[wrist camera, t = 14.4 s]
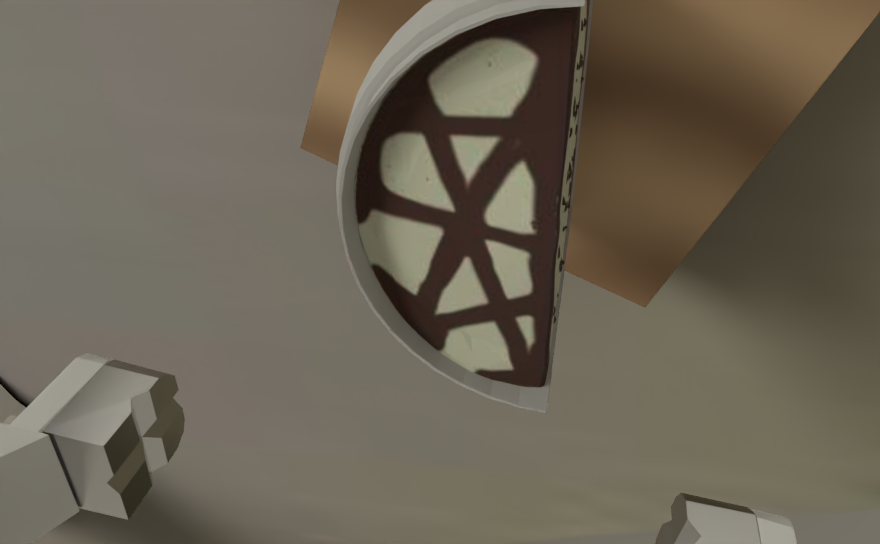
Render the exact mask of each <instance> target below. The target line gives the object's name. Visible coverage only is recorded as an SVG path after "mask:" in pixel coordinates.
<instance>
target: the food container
mask: <svg viewBox="0 0 880 544" xmlns="http://www.w3.org/2000/svg"><path fill="white" fill-rule="evenodd" d="M592 8H593V0H432V1H430V2H429V3H427V4H426V5H425V6H424V7H422V8H421V9H420V10H419V11H418V12H417V13H416V14H415V15H414V16H413V17H412V18H411V19H409V20H408V21H407V22H406V23H405V24H404V25H403V26H402V27H401V28H400V29H399V30H398V31H397V32H396V33H395V34H394V35H393V37H392V38H391V39H390V41H389V42H388V43H387V45H386V46H385V47H384V48H383V50H382V51H381V52H380V54H379V55H378V56H377V58H376V59H375V60H374V62H373V64H372V66H371V67H370V69H369V71H368V73H367V75H366V77H365V79H364V81H363V83H362V85H361V87H360V89H359V91H358V93H357V96H356V99H355V102H354V105H353V109H352V112H351V115H350V118H349V122H348V125H347V128H346V132H345V135H344V139H343V142H342V146H341V149H340V155H339V163H338V171H337V179H336V193H337V212H338V218H339V225H340V233H341V237H342V241H343V246H344V250H345V254H346V258H347V261H348V263H349V266H350V268H351V271H352V273H353V276H354V278H355V281H356V283H357V285H358V287H359V289H360V291H361V292H362V294H363V296H364V297H365V299H366V301H367V302H368V304H369V306H370V307H371V309H372V311H373V312H374V313H375V314H376V316H377V317H378V318H379V319H380V321H381V322H382V323H383V324H384V326H385V327H386V328H387V329H388V331H389V332H390V333H391V334H392V335H393V336H394V337H395V338H396V339H397V340H398V341H399V342H400V343H401V344H402V345H403V346H404V347H405V348H407V349H408V350H409V351H410V352H411V353H412V354H413V355H414V356H416V357H417V358H418V359H420V360H421V361H422V362H424V363H425V364H426V365H428V366H429V367H430V368H432V369H433V370H434V371H436V372H438V373H439V374H441V375H443V376H445V377H446V378H448V379H450V380H452V381H453V382H455V383H457V384H458V385H460V386H462V387H464V388H467V389H469V390H471V391H473V392H476V393H478V394H480V395H483V396H485V397H487V398H490V399H493V400H496V401H499V402H502V403H506V404H509V405H512V406H515V407H519V408H523V409H528V410H533V411H538V412H543V413H546V410H547V403H548V397H549V390H550V383H551V375H552V372H551V371H552V364H553V356H554V348H555V340H556V332H557V324H558V317H559V309H560V301H561V293H562V285H563V277H564V270H565V262H566V254H567V246H568V238H569V230H570V223H571V215H572V206H573V196H574V187H575V177H576V167H577V157H578V147H579V137H580V127H581V117H582V107H583V97H584V87H585V77H586V68H587V58H588V48H589V38H590V28H591V18H592Z"/></svg>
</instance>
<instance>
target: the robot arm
mask: <svg viewBox="0 0 880 544" xmlns="http://www.w3.org/2000/svg"><path fill="white" fill-rule="evenodd" d="M177 391H178V386H177V383H176V379H175V376H174V375H170V374H167V373H163V372H159V371H155V370H152V369H148V368H144V367H140V366H136V365H133V364H129V363H125V362H121V361H118V360H114V359H109V358H105V357H101V356H97V355H93V354H89V353H86V354H84V355H81V356H79V357H77V358H75V359H74V360H73V361H72V362H71V363H70V364H69V365H68V366H67V367H66V368H65V369H64V370H63V371H62V372H61V373H60V374H59V375H58V376H57V377H56V378H55V379H54V380H53V381H52V382H51V383H50V384H49V385H48V386H47V387H46V388H45V389H44V390H43V391H42V392H41V393H40V395H39V396H38V397H37V398H36V399H35V400H34V401H33V402H32V403H31V404H30V405H29V406H28V407H27V408H26V407H25V406H23V405H22V404H20V403H19V402H18V401H17V400H15V399H14V398H13V397H12V396H11V395H10V394H9V393H8V392H7V391H6V390H5V389H4V388H3V387H2V385H1V384H0V544H31V543H32V542H34V541H35V540H37V539H38V538H40V537H41V536H43V535H45V534H46V533H48V532H49V531H51V530H52V529H54V528H55V527H57V526H58V525H60V524H61V523H63V522H64V521H66V520H67V519H69V518H70V517H72V516H73V515H75V514H76V513H78V512H79V511H80V510H79V508H80V509H85V510H89V511H93V512H97V513H101V514H106V515H110V516H114V517H118V518H123V519H127V520H129V518H130V517H131V516H132V514H133V513H134V511H135V510H136V508H137V507H138V506H139V504H140V503H141V501H142V500H143V498H144V497H145V495H146V494H147V493H148V491H149V490H150V488H151V487H152V473H151V472H152V471H154V470H156V469H158V468H160V467H162V466H163V465H165V464H167V463H168V462H169V461H170V459H171V458H172V456H173V455H174V453H175V451H176V450H177V448H178V446H179V443H180V440H181V437H182V435H183V432H184V421H185V418H184V413H183V408H182V407H181V406H180V405H179V404H178V403H177V402H176V401H175V400H174V399H173V397H174V395H175V394H176V393H177ZM671 514H672V520H671V521H669V522H667V523H664V524H662V527H661V529H660V531H659V534H658V536H657V539H656V544H797V540H796V536H795V532H794V528H793V524H792V523H791V522H790V520H789V519H788V518H787V517H783V516H779V515H775V514H771V513H766V512H762V511H758V510H753V509H749V508H748V507H744V506H739V505H735V504H730V503H725V502H721V501H716V500H712V499H707V498H703V497H698V496H694V495H689V494H685V493H680V494H679V495H678V496H676V498H675V500H674V502H673V504H672V506H671Z"/></svg>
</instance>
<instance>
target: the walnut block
mask: <svg viewBox="0 0 880 544" xmlns="http://www.w3.org/2000/svg"><path fill="white" fill-rule="evenodd" d="M430 1H432V0H340V2H339V6H338V10H337V14H336V17H335V21H334V25H333V28H332V32H331V36H330V40H329V43H328V47H327V51H326V54H325V58H324V62H323V66H322V69H321V73H320V77H319V81H318V84H317V88H316V92H315V95H314V99H313V103H312V107H311V110H310V114H309V118H308V122H307V125H306V129H305V133H304V136H303V140H302V144H301V148H302V149H304V150H306V151H308V152H310V153H312V154H315V155H317V156H319V157H321V158H323V159H325V160H328V161H330V162H332V163H334V164H336V165H338V163H339V155H340V149H341V146H342V142H343V139H344V135H345V132H346V128H347V125H348V122H349V118H350V115H351V112H352V109H353V105H354V102H355V99H356V96H357V93H358V91H359V89H360V87H361V85H362V83H363V81H364V79H365V77H366V75H367V73H368V71H369V69H370V67H371V66H372V64H373V62H374V60H375V59H376V58H377V56H378V55H379V54H380V52H381V51H382V50H383V48H384V47H385V46H386V45H387V43H388V42H389V41H390V39H391V38H392V37H393V35H394V34H395V33H396V32H397V31H398V30H399V29H400V28H401V27H402V26H403V25H404V24H405V23H406V22H407V21H408V20H409V19H411V18H412V17H413V16H414V15H415V14H416V13H417V12H418V11H419V10H420V9H421V8H422V7H424V6H425V5H426V4H427V3H429V2H430ZM879 12H880V0H593V8H592V18H591V28H590V38H589V48H588V58H587V68H586V77H585V87H584V97H583V107H582V117H581V127H580V137H579V147H578V157H577V167H576V177H575V187H574V196H573V206H572V215H571V223H570V230H569V238H568V246H567V254H566V262H565V271H567V272H569V273H571V274H574V275H576V276H578V277H580V278H582V279H584V280H587V281H589V282H591V283H593V284H595V285H597V286H600V287H602V288H604V289H606V290H608V291H610V292H613V293H615V294H617V295H619V296H621V297H623V298H625V299H628V300H630V301H632V302H634V303H636V304H638V305H641V306H643V307H646V306H647V304H648V303H649V302H650V301H651V299H652V298H653V297H654V296H655V294H656V293H657V292H658V291H659V289H660V288H661V287H662V286H663V284H664V283H665V282H666V281H667V279H668V278H669V277H670V275H671V274H672V273H673V272H674V270H675V269H676V268H677V267H678V265H679V264H680V263H681V262H682V260H683V259H684V258H685V257H686V255H687V254H688V253H689V252H690V250H691V249H692V248H693V246H694V245H695V244H696V243H697V241H698V240H699V239H700V238H701V236H702V235H703V234H704V233H705V231H706V230H707V229H708V228H709V226H710V225H711V224H712V223H713V221H714V220H715V219H716V217H717V216H718V215H719V214H720V212H721V211H722V210H723V209H724V207H725V206H726V205H727V204H728V202H729V201H730V200H731V199H732V197H733V196H734V195H735V194H736V192H737V191H738V190H739V188H740V187H741V186H742V185H743V183H744V182H745V181H746V180H747V178H748V177H749V176H750V175H751V173H752V172H753V171H754V170H755V168H756V167H757V166H758V165H759V163H760V162H761V161H762V160H763V158H764V157H765V156H766V154H767V153H768V152H769V151H770V149H771V148H772V147H773V146H774V144H775V143H776V142H777V141H778V139H779V138H780V137H781V136H782V134H783V133H784V132H785V131H786V129H787V128H788V127H789V125H790V124H791V123H792V122H793V120H794V119H795V118H796V117H797V115H798V114H799V113H800V112H801V110H802V109H803V108H804V107H805V105H806V104H807V103H808V102H809V100H810V99H811V98H812V96H813V95H814V94H815V93H816V91H817V90H818V89H819V88H820V86H821V85H822V84H823V83H824V81H825V80H826V79H827V78H828V76H829V75H830V74H831V73H832V71H833V70H834V69H835V67H836V66H837V65H838V64H839V62H840V61H841V60H842V59H843V57H844V56H845V55H846V54H847V52H848V51H849V50H850V49H851V47H852V46H853V45H854V44H855V42H856V41H857V40H858V39H859V37H860V36H861V35H862V33H863V32H864V31H865V30H866V28H867V27H868V26H869V25H870V23H871V22H872V21H873V20H874V18H875V17H876V16H877V15H878V13H879Z"/></svg>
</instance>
